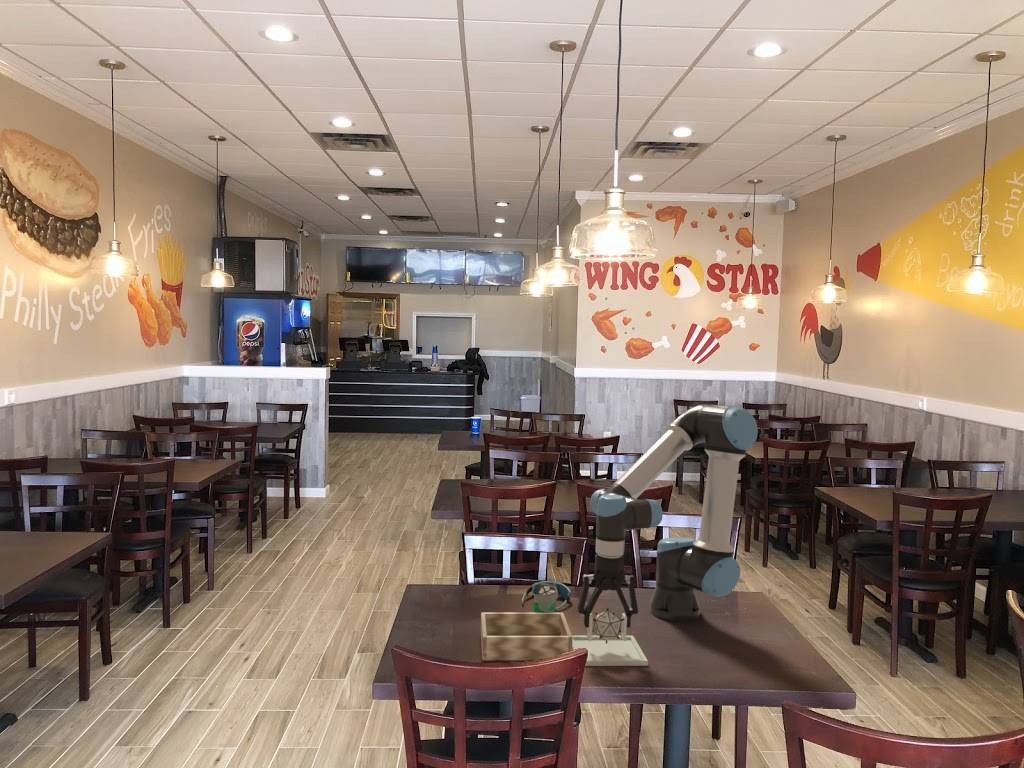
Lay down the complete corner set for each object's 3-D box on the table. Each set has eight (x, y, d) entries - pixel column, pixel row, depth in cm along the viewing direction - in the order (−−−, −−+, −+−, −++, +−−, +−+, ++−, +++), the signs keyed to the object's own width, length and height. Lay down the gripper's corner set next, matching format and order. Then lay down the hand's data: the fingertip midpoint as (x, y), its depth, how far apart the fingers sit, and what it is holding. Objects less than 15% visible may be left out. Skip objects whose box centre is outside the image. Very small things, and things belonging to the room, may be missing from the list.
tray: (632, 639, 211) (633, 635, 211) (647, 665, 194) (648, 660, 194) (568, 639, 209) (568, 635, 209) (577, 665, 192) (577, 661, 192)
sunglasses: (576, 599, 242) (576, 584, 241) (558, 619, 229) (558, 603, 228) (535, 591, 248) (535, 577, 248) (516, 611, 235) (515, 595, 234)
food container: (554, 632, 215) (555, 597, 214) (532, 629, 216) (533, 595, 216) (560, 617, 227) (561, 583, 227) (539, 615, 228) (540, 582, 228)
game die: (587, 637, 205) (588, 601, 205) (618, 637, 206) (619, 601, 206) (593, 650, 197) (595, 612, 196) (626, 650, 197) (627, 612, 197)
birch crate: (562, 633, 214) (563, 612, 214) (571, 660, 196) (572, 637, 196) (480, 633, 212) (481, 612, 212) (482, 660, 194) (482, 637, 194)
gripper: (646, 551, 205) (642, 633, 206) (567, 550, 203) (564, 633, 204) (653, 558, 197) (649, 644, 198) (571, 557, 196) (568, 644, 197)
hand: (606, 639), depth 201 cm, fingers closed on game die, 8 cm apart
